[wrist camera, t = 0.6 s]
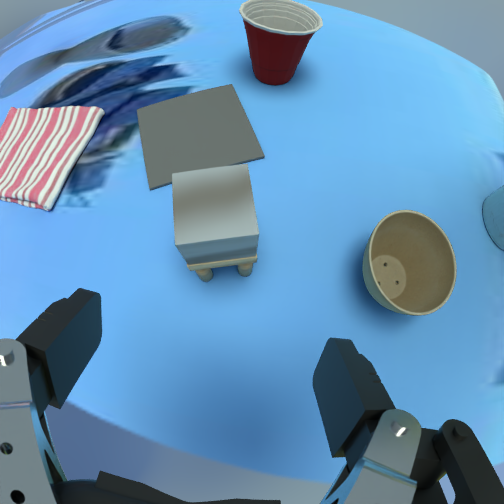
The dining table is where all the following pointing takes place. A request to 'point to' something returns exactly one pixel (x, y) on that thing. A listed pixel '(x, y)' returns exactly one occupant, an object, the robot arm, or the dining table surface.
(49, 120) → the dish towel
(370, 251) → the flower pot
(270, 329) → the dining table surface
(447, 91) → the dining table surface
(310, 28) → the plastic cup
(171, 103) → the mat
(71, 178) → the dining table surface
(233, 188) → the stool
